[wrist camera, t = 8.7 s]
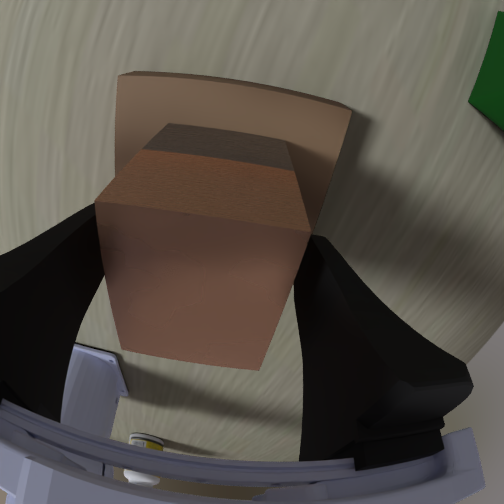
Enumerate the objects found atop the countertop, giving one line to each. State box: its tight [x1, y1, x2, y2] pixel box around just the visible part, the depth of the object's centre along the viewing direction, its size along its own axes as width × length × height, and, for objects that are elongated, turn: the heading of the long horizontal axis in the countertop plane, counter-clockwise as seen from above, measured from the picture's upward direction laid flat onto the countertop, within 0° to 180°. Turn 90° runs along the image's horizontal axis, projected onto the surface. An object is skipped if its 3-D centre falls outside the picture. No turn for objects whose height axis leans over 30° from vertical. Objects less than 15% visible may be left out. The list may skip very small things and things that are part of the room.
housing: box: [95, 123, 311, 370], centre depth 11 cm, size 5×6×7 cm
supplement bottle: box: [124, 433, 164, 488], centre depth 40 cm, size 6×6×11 cm
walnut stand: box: [115, 71, 352, 285], centre depth 15 cm, size 10×10×2 cm
